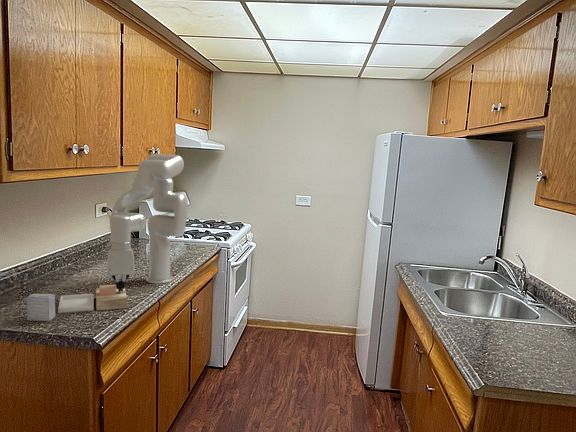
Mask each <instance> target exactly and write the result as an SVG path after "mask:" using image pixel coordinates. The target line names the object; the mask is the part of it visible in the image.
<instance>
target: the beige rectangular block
mask: <svg viewBox="0 0 576 432" xmlns="http://www.w3.org/2000/svg"><path fill="white" fill-rule="evenodd" d="M95 295H96V296H95V299H96V301H95V303H96V305H95V306H96V307H95V308H96V311H107V310H108V311H109V310H116V309H117V310H119V309H121V310H122V309H127V308H128V296H127V291H126V288H125V289H123V291H122V292H121V291H120V292H119V291H118V289H117V288H116V295H109V296H100V287H98V288H97V287H96V288H95Z"/></svg>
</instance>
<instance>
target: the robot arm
mask: <svg viewBox="0 0 576 432" xmlns="http://www.w3.org/2000/svg"><path fill="white" fill-rule="evenodd" d="M184 167H185V163H184V159H183V158H182V156H180V155H177V154H166V153H165V154H164V153H152V154H150V155H148V156H147V157H146V159H145V160H142V161H141V162H140V163H139V165H138V168H137V171H136V174H135V177H134V180H133V182H132V185H131V188H130V189H129V190H128V191H126V192H125V193H123V194H122V195H121V196H120V197H119V198H118V199H117V200H116V202H115V203H114V205H113V207H112V209H111V210H112V211H111V213H110V217H109V225H110V242H108V243H106V247H107V248H109V249H108V252H107V259H106V260H107V261H106V273H105V276H106V278H109V279H112V280H114V281H115V282H116V284H115V285H116V288H117V289H118V291H119V292H120V291H121V292H122V291H123V289H125V290H126V287H125V282H126V281H127V280H128V279H129V278H130V277H134V276H135V275H136V274H135V256H134V255H135V254H134V250H133V248H132V246H131V243H132V241H131V240H132V235H131V234H132V232H140V231H142V230H144V228H145V227H146V226H147V231H148V237H149V238H148V239H149V256H148V257H149V259H148V260H149V261H148V263H149V267H148V268H149V271H148V272H149V274H148V276H147V277H145V282H147V283H148V284H167V283H170V282H172V281H174V277H173V276H172V275H170V274H171V242H170V239H169V238H168V237H181V236H183V235H184V234H185V231H186V224H187V214H188V199H187V197H186V195H185V194H184V193H181V192H173V191H174V180H173V178H175V177H176V176H178V175H180V174H181V173H182V171H183V170H184ZM152 194H153V200H152V206H153V207H152V208H153V209H154V211H156V212H160V213H167V215H166V214H165V215H164V214H153V215H152V216H150V217H149V218H148V220H147V218H146V216H144V214H142V213H139V212H138V213H137V212H126V210H127V209H128V208H129V207H130V206H132V205H134V204H135V203H138V202H140V201H143V200H145V199H148V198H150V197H151V196H152ZM169 213H170V214H174V215H169ZM119 276H121V278H120V277H119Z"/></svg>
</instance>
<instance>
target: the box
mask: <svg viewBox="0 0 576 432" xmlns="http://www.w3.org/2000/svg"><path fill="white" fill-rule="evenodd" d="M94 299H95V297H94V293H84V294H69V295H67V294H66V295H61V296H60V298H59V303H58V307H57V314H58V315H59V314H72V313H82V312H94V311H95V310H94V309H95V307H94V306H95V305H94V304H95V302H94Z"/></svg>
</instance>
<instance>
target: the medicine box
mask: <svg viewBox="0 0 576 432" xmlns="http://www.w3.org/2000/svg"><path fill="white" fill-rule="evenodd" d="M55 296H56V295H55V294H53V293H51V294H50V293H32V294H30V295H29V296H26V320H27V321H35V322H36V321H37V322H38V321H39V322H51V321H52V320H53V319H55V318H56V299H55V298H56V297H55Z"/></svg>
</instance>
